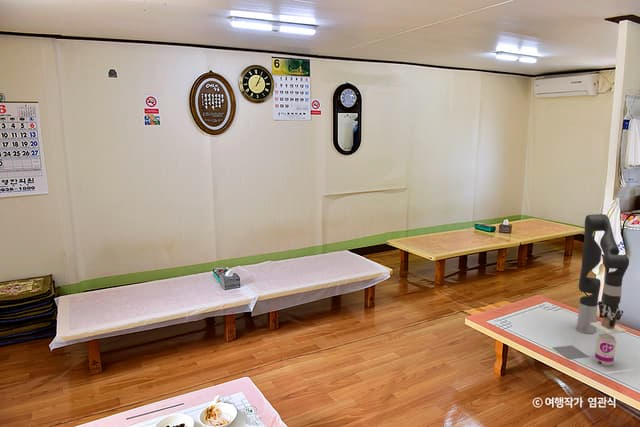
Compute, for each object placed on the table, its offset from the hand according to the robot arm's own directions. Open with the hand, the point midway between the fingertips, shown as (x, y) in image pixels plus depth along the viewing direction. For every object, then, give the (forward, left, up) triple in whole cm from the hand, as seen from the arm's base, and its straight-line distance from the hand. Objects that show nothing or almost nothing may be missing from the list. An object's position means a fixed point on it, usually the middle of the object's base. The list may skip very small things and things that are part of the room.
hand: (608, 324), depth 228 cm
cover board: (0, 0, -2) cm, 2 cm away
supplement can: (0, 0, -22) cm, 22 cm away
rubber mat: (+10, -12, -22) cm, 27 cm away
